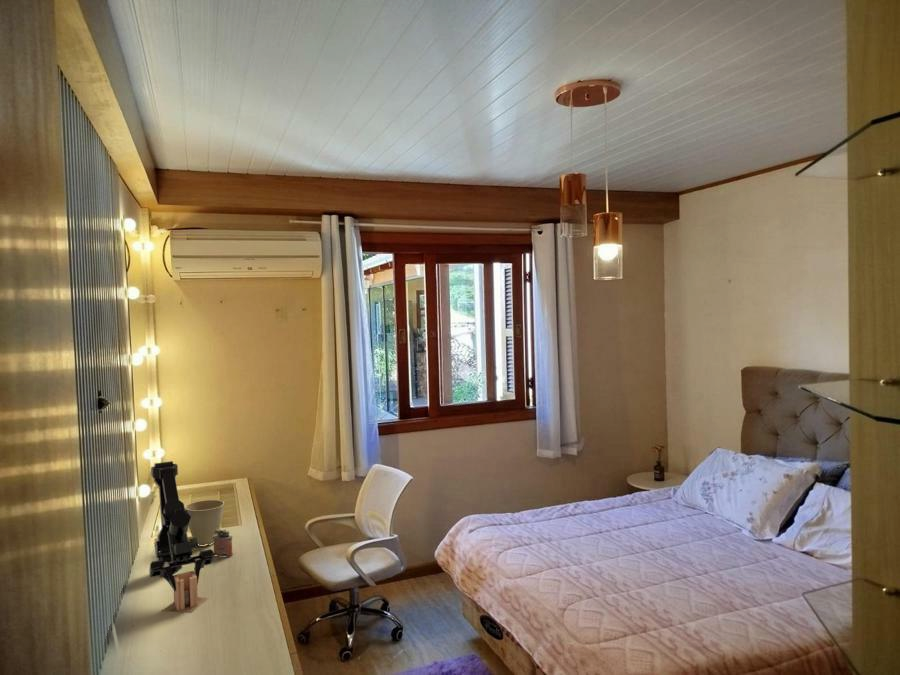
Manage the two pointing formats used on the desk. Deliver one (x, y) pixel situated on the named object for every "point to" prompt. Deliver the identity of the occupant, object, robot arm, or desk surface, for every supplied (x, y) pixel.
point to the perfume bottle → (222, 543)
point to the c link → (185, 582)
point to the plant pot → (205, 519)
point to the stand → (186, 603)
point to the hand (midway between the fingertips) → (186, 587)
